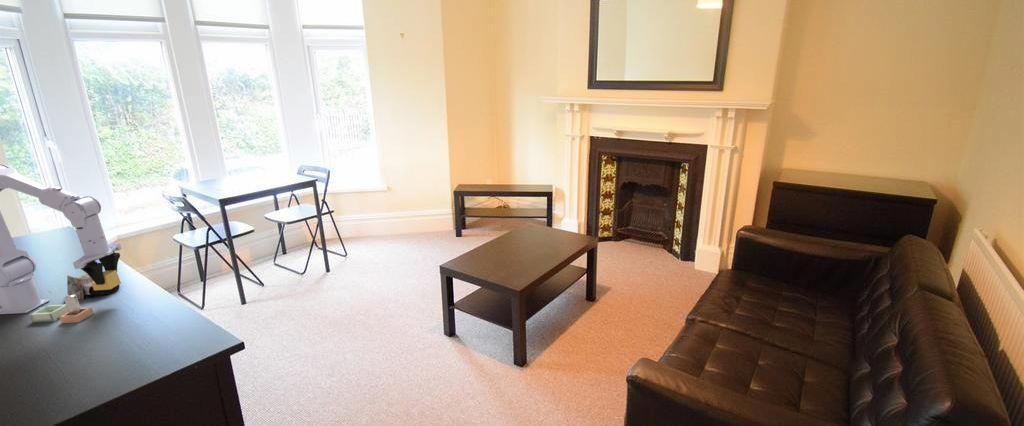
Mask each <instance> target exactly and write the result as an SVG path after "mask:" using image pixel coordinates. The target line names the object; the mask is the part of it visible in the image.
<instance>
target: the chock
mask: <svg viewBox="0 0 1024 426" xmlns="http://www.w3.org/2000/svg"><path fill="white" fill-rule="evenodd" d="M103 275H104V279H105V284H103V285H96V283H95V282H92V283H91V284H92V286H93V289H94V290H108V289H112V288H114V287H115V286H117V285H119V286H120V284H122V283H121V279H120V276H119V274H118V270H117V271H116V270H108V271H105V270H104V271H103Z"/></svg>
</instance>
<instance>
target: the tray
mask: <svg viewBox="0 0 1024 426" xmlns="http://www.w3.org/2000/svg"><path fill="white" fill-rule="evenodd" d="M67 312H69V310H68V308H67V305H66V303H65V304H49V305H48V304H47V305H45V306H43V307H41V308H39V309H37V310H35V311H33V312H31V313H30V314H29V317H30V320H31V322H32V323H46V322H50V323H51V322H56V321H58V320H60V316H62V315H64V314H65V313H67Z"/></svg>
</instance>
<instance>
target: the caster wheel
mask: <svg viewBox="0 0 1024 426" xmlns="http://www.w3.org/2000/svg"><path fill="white" fill-rule="evenodd" d="M66 280H67V282H66V283H67V284H66V285H67V296H69V295H73V294H75V295H76V296H77V299H78V300H80V301H84V296H85V295H88V296H89V295H90V296H91V295H94V296H95V295H96V296H98V295H99V296H101V295H110V294H114V293H116V292H117V291H119V289H120V284H119V285H117V286H115V287H114V288H112V289H108V290H94V289H93V286H92V284H91V283H92V282H94V281H93V279H92V278H91V277H90V276H89V275H88V274H87V273H86V274H82V275H79V276H74V277H73V276H71V275H67V279H66Z"/></svg>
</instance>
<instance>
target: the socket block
mask: <svg viewBox="0 0 1024 426" xmlns="http://www.w3.org/2000/svg"><path fill="white" fill-rule="evenodd" d="M81 310H82V312H81V313H79V314H77V315H70V313H69V312H67V313H65V314H64V315H62V316H60V318H59V320H60V322H61V324H67V323H68V324H70V323H71V324H72V323H81V322H82V321H83V320H85V319H87V318H89V317H90V316H92V315H93V314H95V312H94V309H93V307H89V306H88V307H81Z"/></svg>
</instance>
